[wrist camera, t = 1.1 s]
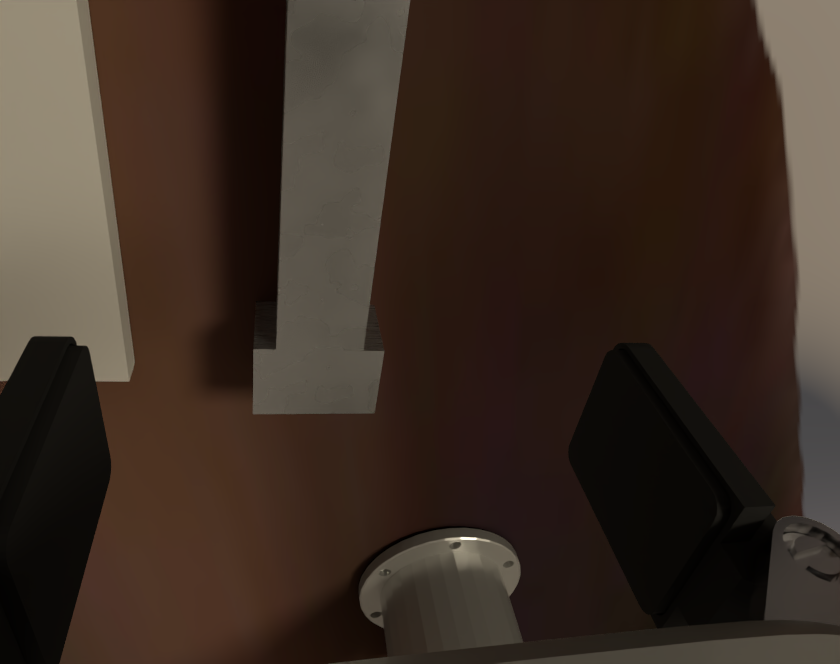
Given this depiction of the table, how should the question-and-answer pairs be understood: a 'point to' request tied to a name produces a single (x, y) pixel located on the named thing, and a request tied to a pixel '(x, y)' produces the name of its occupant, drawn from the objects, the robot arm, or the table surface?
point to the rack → (57, 191)
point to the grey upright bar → (330, 207)
